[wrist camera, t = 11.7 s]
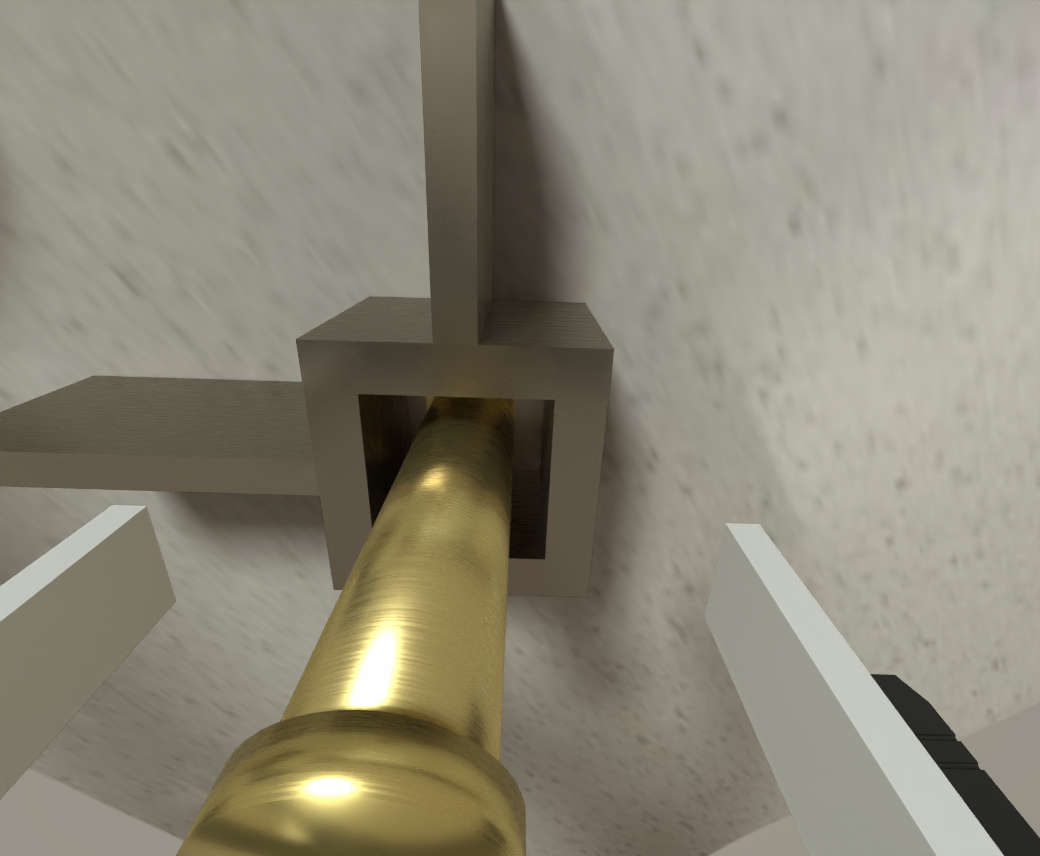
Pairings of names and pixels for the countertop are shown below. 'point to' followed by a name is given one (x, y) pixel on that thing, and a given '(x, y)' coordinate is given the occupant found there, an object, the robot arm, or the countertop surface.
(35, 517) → the countertop surface
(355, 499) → the hinge
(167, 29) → the countertop surface
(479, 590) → the hinge pin
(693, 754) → the countertop surface
